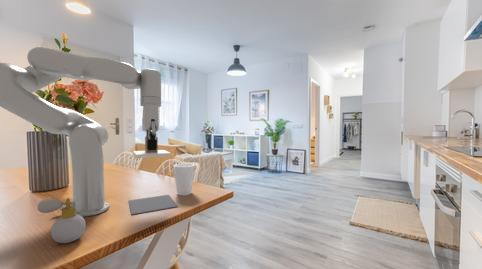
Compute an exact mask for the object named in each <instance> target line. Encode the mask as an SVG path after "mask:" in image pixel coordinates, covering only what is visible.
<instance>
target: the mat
mask: <svg viewBox="0 0 482 269" xmlns="http://www.w3.org/2000/svg"><path fill="white" fill-rule="evenodd" d="M128 205H129V209H130V213H131V214H130V215H131V216H134V215H140V214H147V213H152V212H157V211H163V210H168V209H174V208H178V207H179V205H178V204H177V203H176V201H175V200H174V199H173V198H172V196H170V194H163V195H158V196H151V197H149V196H148V197H144V198H137V199H131V200H130V199H129V200H128Z"/></svg>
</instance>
